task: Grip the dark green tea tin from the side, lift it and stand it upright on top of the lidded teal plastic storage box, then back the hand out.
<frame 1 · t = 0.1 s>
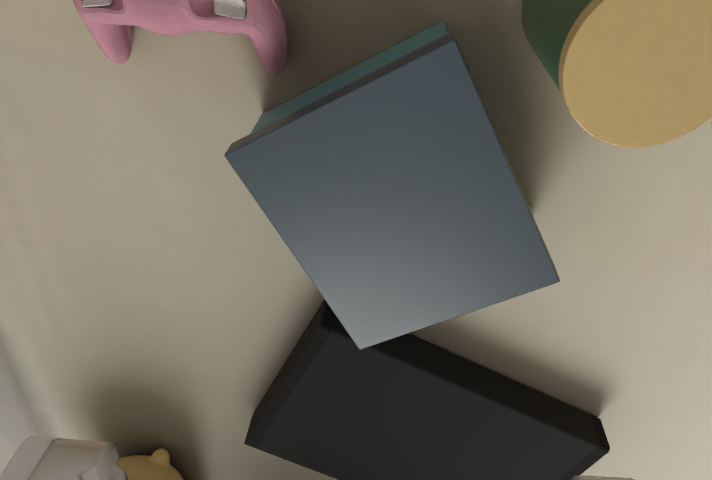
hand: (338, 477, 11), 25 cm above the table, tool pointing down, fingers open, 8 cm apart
storage box: (400, 168, 35), on the table
tea tin: (584, 6, 29), on the table
video game controller: (199, 5, 31), on the table
external hard drive: (420, 413, 46), on the table
toy pig: (153, 466, 53), on the table
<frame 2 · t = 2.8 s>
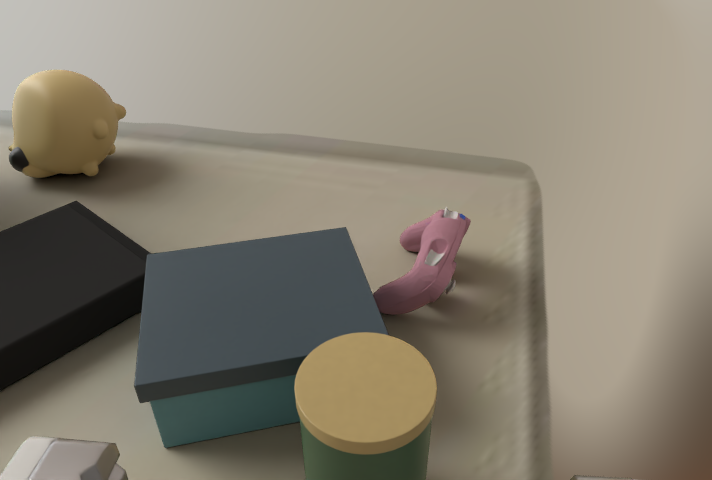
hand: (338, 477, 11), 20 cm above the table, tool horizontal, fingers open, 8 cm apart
storage box: (266, 360, 40), on the table
video game controller: (422, 285, 47), on the table
toy pig: (77, 170, 64), on the table
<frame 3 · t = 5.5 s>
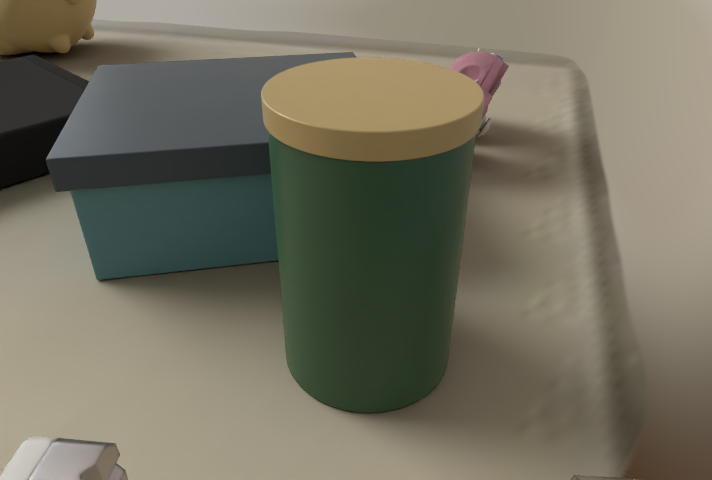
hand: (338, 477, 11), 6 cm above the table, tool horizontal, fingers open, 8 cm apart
storage box: (245, 203, 31), on the table
tea tin: (367, 350, 22), on the table
video game controller: (445, 147, 38), on the table
toy pig: (49, 52, 55), on the table
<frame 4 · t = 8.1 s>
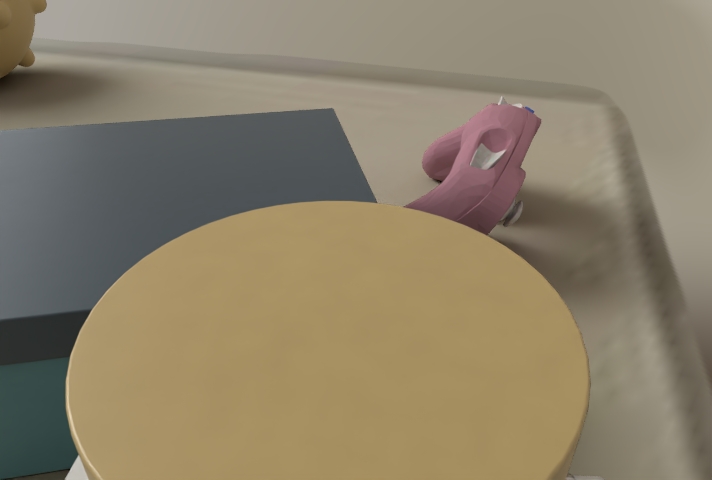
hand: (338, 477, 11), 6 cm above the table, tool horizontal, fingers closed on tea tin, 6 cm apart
storage box: (178, 329, 22), on the table
video game controller: (457, 225, 29), on the table
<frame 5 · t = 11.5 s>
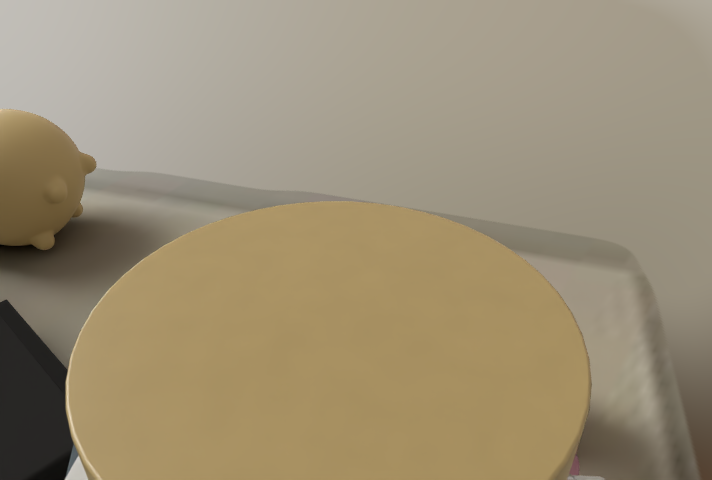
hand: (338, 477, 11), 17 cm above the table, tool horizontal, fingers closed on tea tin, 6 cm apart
toy pig: (31, 237, 48), on the table
when the fingers open (11 cm above the table, at t = 14.8 s): tea tin stays where it is, resting on storage box.
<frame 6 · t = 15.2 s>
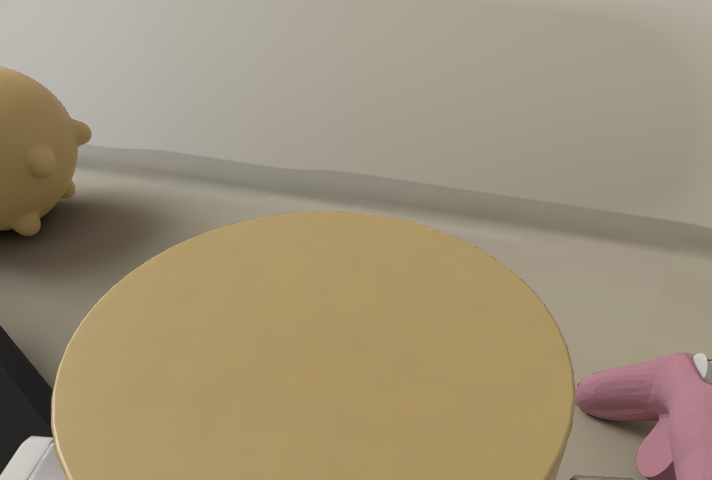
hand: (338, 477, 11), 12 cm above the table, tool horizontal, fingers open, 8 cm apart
toy pig: (13, 221, 40), on the table
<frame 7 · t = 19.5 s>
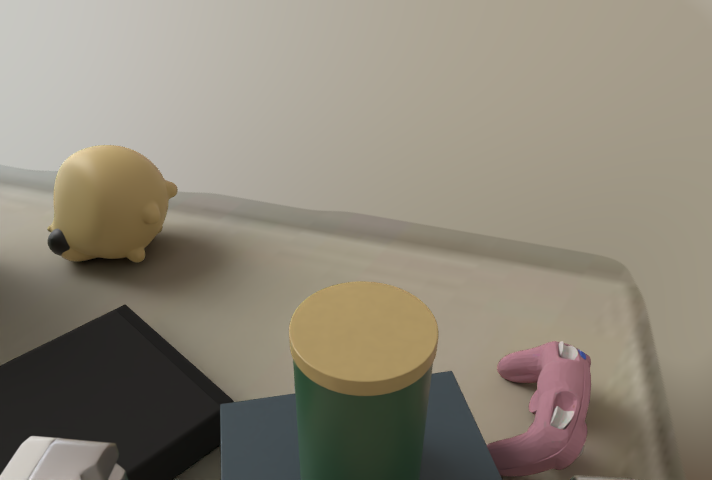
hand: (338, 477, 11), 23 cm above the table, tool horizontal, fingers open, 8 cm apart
tea tin: (359, 474, 30), point 6 cm above the table, touching storage box
video game controller: (529, 430, 40), on the table
external hard drive: (17, 479, 36), on the table
toy pig: (120, 251, 57), on the table
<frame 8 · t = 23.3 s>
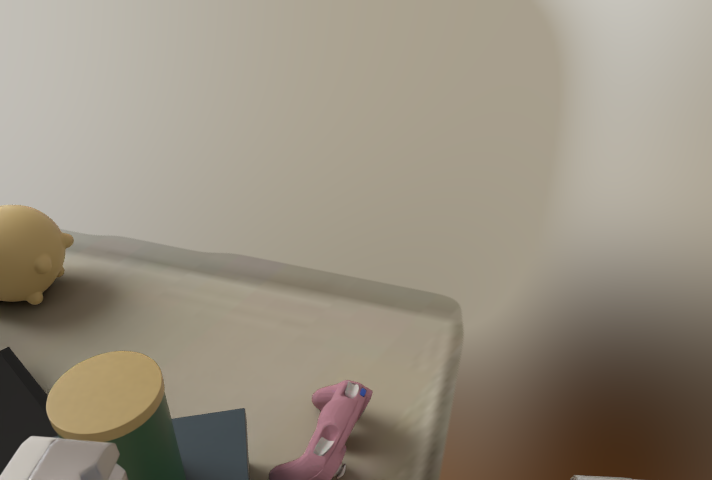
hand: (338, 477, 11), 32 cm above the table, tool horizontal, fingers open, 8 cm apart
video game controller: (325, 453, 49), on the table
toy pig: (26, 292, 66), on the table
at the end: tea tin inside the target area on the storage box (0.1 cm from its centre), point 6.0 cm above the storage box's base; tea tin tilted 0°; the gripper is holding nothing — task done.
